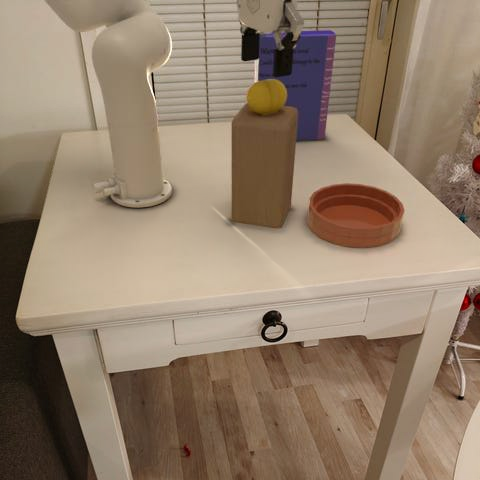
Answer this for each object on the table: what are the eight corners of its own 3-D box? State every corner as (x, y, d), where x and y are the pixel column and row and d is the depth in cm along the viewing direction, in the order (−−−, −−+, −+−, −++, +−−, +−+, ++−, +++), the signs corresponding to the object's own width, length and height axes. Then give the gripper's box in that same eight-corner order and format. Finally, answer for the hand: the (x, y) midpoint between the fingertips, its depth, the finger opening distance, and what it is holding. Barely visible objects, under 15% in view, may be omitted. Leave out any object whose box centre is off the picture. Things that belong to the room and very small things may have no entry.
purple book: (319, 132, 138) (330, 29, 123) (324, 139, 135) (336, 34, 119) (253, 135, 136) (255, 31, 121) (256, 143, 133) (259, 36, 117)
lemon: (254, 120, 89) (255, 88, 86) (239, 111, 92) (239, 79, 89) (293, 112, 92) (295, 81, 89) (276, 104, 95) (278, 73, 92)
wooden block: (291, 207, 108) (299, 105, 95) (281, 231, 100) (288, 125, 88) (243, 200, 110) (245, 100, 97) (230, 224, 102) (229, 119, 90)
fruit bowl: (345, 260, 93) (349, 238, 90) (289, 217, 105) (290, 196, 102) (418, 234, 100) (424, 213, 97) (358, 196, 112) (361, 176, 109)
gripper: (219, -66, 81) (220, 57, 92) (283, -52, 69) (275, 85, 81) (261, -67, 84) (257, 52, 95) (329, -54, 72) (315, 79, 84)
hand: (265, 67), depth 88 cm, fingers open, 9 cm apart
